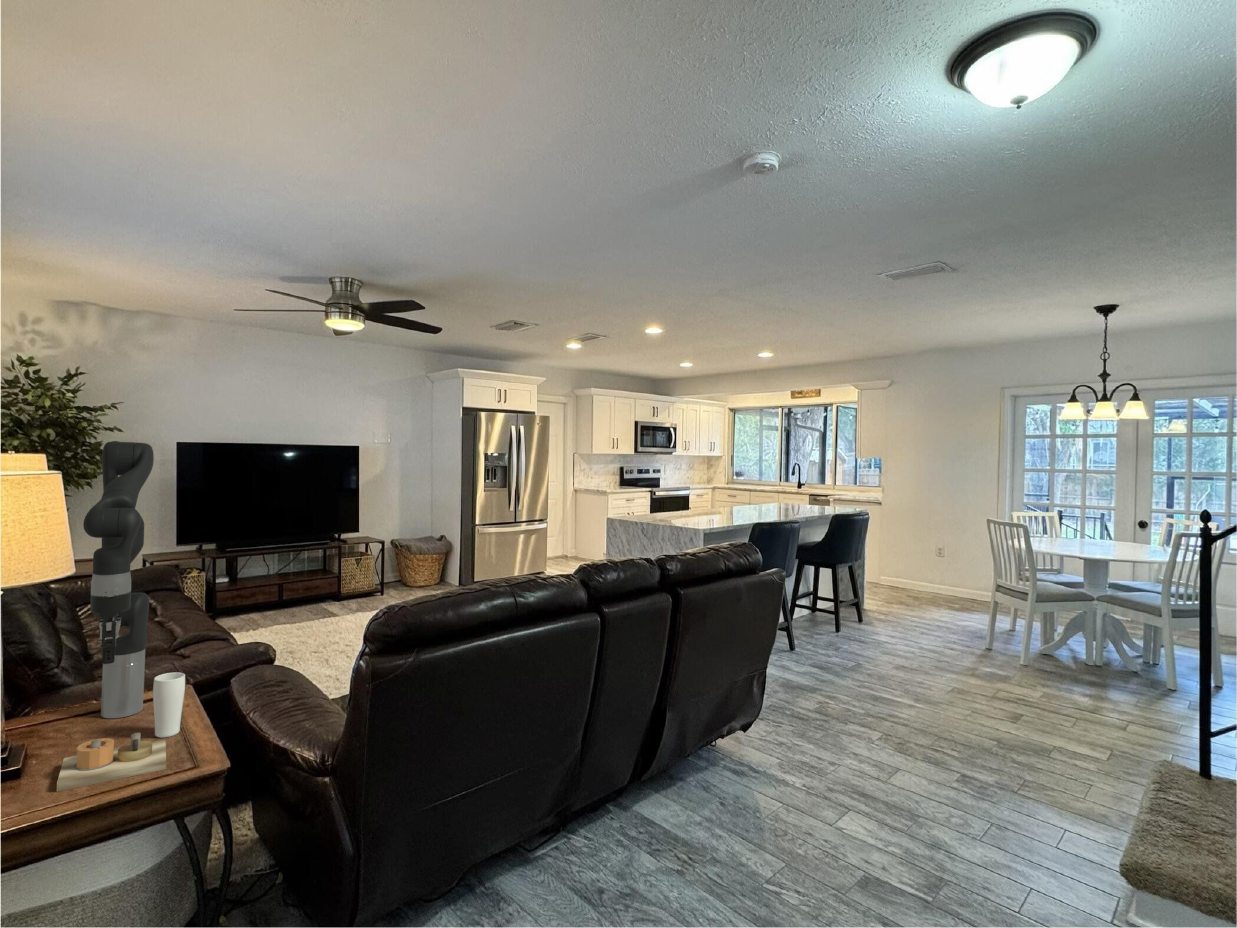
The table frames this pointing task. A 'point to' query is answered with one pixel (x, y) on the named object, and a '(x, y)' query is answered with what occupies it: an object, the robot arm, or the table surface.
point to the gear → (95, 754)
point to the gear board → (115, 764)
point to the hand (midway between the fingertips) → (109, 657)
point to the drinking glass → (168, 703)
